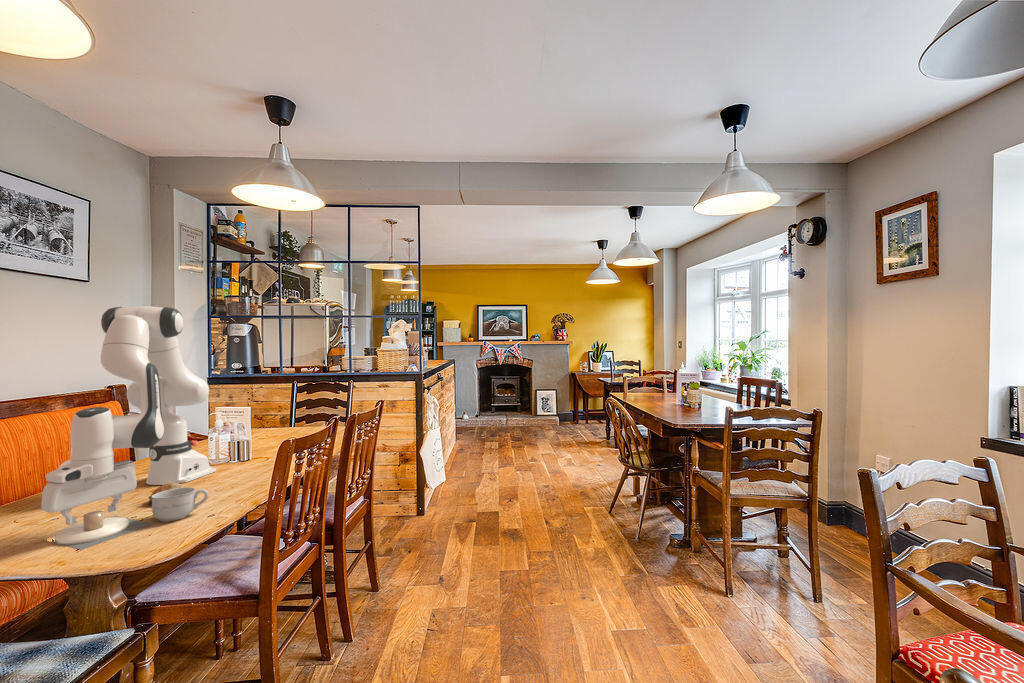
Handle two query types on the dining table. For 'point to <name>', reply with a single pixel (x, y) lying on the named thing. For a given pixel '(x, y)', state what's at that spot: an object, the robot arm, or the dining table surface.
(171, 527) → the dining table surface
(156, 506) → the teacup
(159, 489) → the bread roll
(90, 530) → the lid
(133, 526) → the mat
